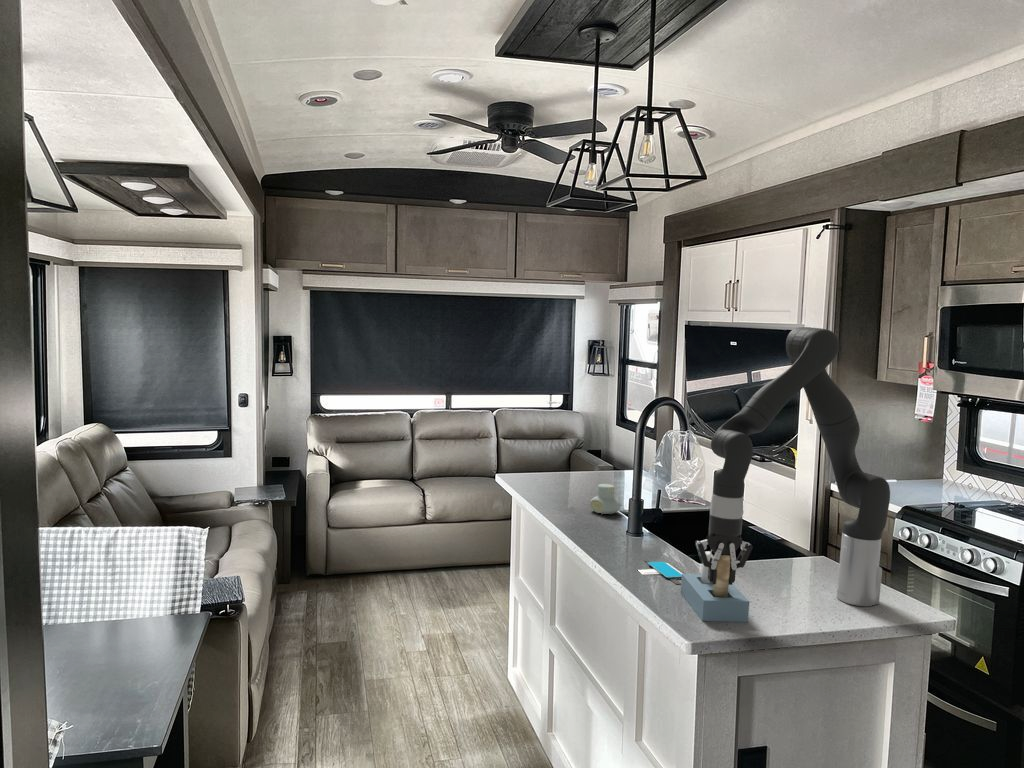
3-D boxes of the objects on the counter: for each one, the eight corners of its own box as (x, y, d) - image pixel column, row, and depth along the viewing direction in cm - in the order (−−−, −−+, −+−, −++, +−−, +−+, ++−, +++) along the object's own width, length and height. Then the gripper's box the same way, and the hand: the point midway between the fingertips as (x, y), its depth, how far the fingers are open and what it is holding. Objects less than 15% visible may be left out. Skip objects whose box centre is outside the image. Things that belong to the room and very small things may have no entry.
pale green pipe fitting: (623, 515, 270) (625, 487, 269) (607, 517, 265) (608, 489, 264) (602, 507, 279) (604, 481, 278) (585, 510, 274) (587, 483, 273)
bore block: (722, 593, 196) (725, 548, 195) (747, 621, 178) (751, 572, 177) (680, 592, 196) (683, 547, 194) (702, 621, 178) (705, 571, 177)
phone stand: (624, 562, 219) (624, 557, 219) (661, 560, 222) (662, 555, 222) (655, 587, 200) (656, 581, 200) (696, 585, 203) (696, 579, 203)
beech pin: (724, 595, 184) (727, 551, 183) (729, 601, 180) (733, 556, 179) (710, 595, 184) (713, 551, 183) (714, 601, 180) (718, 556, 179)
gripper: (749, 510, 184) (743, 578, 186) (692, 508, 183) (687, 577, 185) (761, 518, 177) (755, 590, 179) (702, 516, 176) (696, 588, 178)
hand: (720, 583), depth 182 cm, fingers closed on beech pin, 3 cm apart
